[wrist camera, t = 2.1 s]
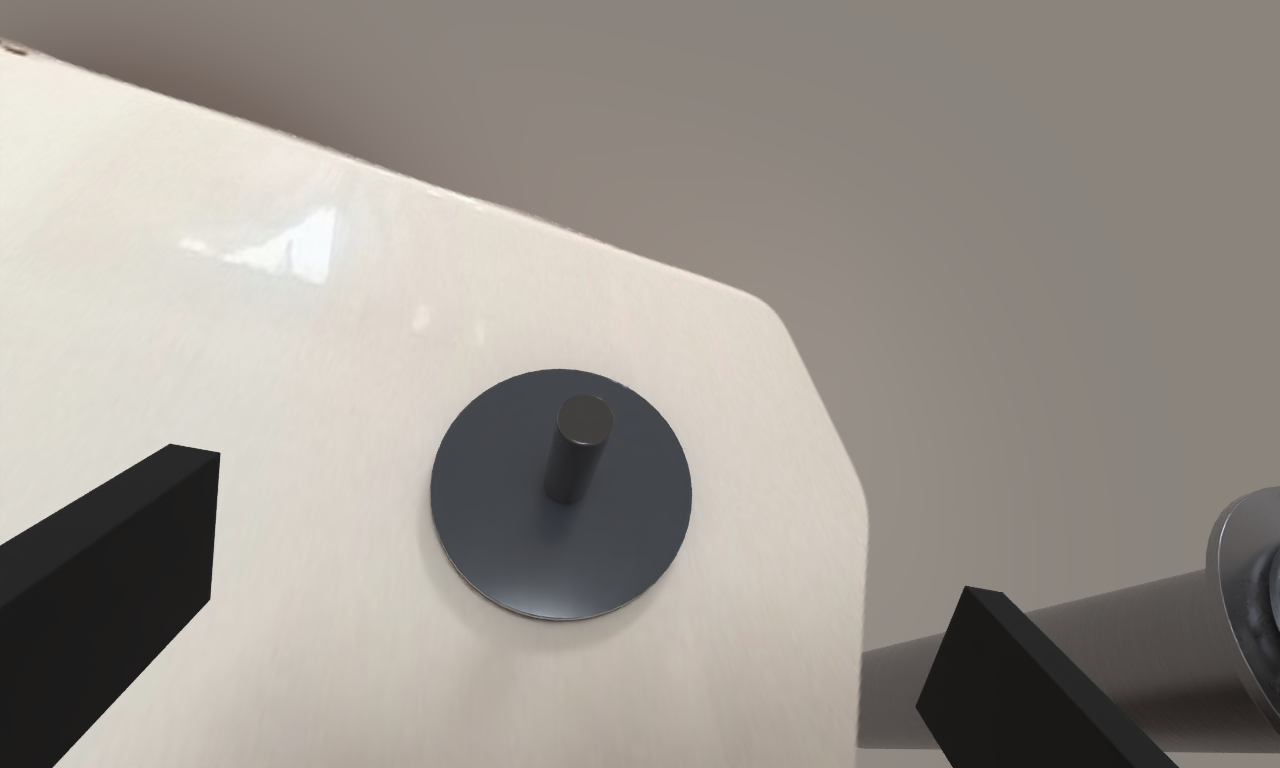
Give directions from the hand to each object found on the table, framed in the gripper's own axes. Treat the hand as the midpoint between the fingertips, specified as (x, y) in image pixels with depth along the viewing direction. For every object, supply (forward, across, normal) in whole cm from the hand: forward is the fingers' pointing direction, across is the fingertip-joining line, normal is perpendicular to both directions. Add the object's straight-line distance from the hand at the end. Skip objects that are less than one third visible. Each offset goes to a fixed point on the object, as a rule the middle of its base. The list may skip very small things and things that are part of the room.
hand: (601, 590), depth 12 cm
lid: (+25, 0, -10) cm, 27 cm away
